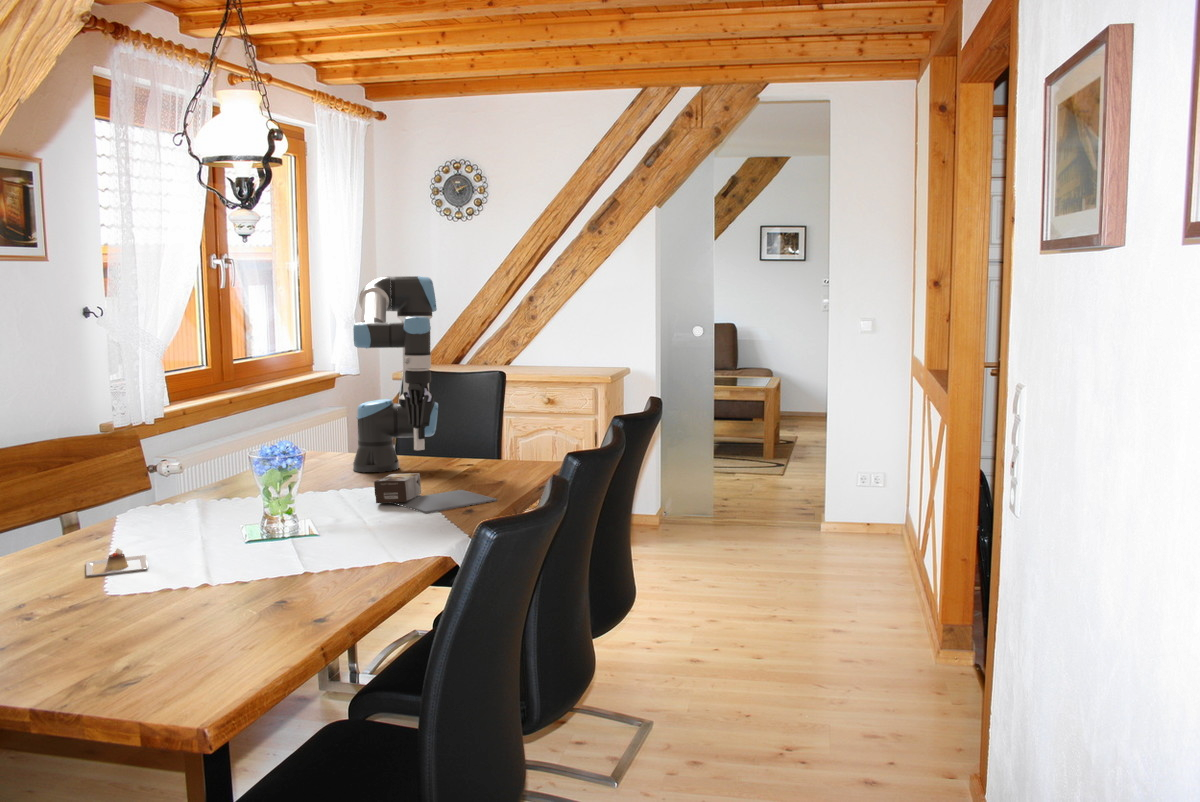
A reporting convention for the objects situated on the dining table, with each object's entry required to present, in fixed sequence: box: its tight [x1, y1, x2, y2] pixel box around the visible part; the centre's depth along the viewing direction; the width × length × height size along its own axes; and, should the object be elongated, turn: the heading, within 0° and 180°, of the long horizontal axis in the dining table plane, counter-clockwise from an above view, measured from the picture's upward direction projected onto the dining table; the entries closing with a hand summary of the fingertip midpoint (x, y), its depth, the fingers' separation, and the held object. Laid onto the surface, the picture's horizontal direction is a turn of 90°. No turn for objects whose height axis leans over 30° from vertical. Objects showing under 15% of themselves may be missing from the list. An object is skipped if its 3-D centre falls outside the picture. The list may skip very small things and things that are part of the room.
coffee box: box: [373, 472, 422, 504], centre depth 285 cm, size 9×6×16 cm
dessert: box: [85, 547, 149, 577], centre depth 216 cm, size 12×12×5 cm
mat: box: [395, 489, 498, 514], centre depth 283 cm, size 18×24×1 cm
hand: (419, 449), depth 291 cm, fingers closed
